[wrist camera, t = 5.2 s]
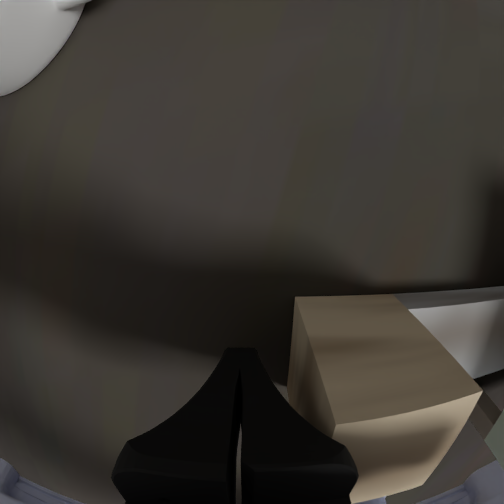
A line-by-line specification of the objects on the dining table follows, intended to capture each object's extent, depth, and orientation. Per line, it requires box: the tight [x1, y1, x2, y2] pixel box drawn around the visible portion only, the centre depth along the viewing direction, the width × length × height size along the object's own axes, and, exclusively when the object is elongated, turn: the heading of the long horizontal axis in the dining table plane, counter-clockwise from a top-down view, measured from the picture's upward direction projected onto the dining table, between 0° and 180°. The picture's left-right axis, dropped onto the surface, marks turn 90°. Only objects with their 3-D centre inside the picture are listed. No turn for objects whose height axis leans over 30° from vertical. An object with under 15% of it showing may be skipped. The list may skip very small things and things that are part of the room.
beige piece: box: [287, 286, 504, 504], centre depth 10 cm, size 5×20×7 cm, turn 89°
